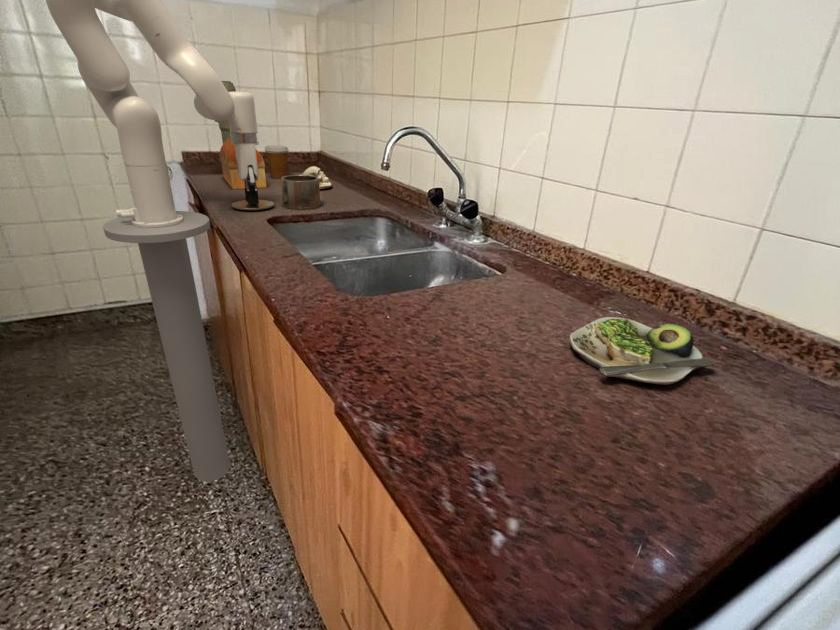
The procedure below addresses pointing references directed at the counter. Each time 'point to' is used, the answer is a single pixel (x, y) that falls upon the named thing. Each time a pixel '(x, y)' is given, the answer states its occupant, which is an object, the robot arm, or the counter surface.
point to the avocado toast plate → (638, 350)
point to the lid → (252, 205)
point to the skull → (317, 173)
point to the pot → (300, 191)
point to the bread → (231, 167)
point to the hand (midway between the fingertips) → (252, 201)
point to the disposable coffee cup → (277, 160)
